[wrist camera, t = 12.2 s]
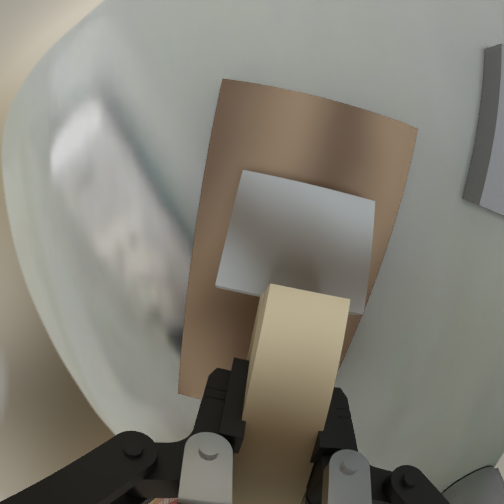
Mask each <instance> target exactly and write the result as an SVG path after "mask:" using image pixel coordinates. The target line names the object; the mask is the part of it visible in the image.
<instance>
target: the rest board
mask: <svg viewBox="0 0 504 504" xmlns="http://www.w3.org/2000/svg"><path fill="white" fill-rule="evenodd" d="M417 131H418V128H415V127H413V126H410V125H407V124H405V123H402V122H399V121H396V120H394V119H391V118H388V117H385V116H382V115H379V114H376V113H373V112H370V111H367V110H364V109H360V108H357V107H354V106H350V105H347V104H344V103H340V102H336V101H333V100H329V99H325V98H321V97H317V96H313V95H309V94H305V93H300V92H296V91H291V90H287V89H282V88H277V87H272V86H266V85H261V84H255V83H249V82H243V81H236V80H229V79H222V84H221V88H220V93H219V98H218V103H217V108H216V113H215V118H214V123H213V128H212V133H211V138H210V144H209V149H208V155H207V160H206V166H205V172H204V178H203V184H202V190H201V196H200V203H199V209H198V216H197V222H196V229H195V236H194V243H193V251H192V258H191V266H190V274H189V282H188V291H187V299H186V308H185V318H184V328H183V338H182V349H181V361H180V373H179V387H178V393H179V394H182V395H186V396H190V397H194V398H198V399H202V397H203V394H204V390H205V387H206V383H207V380H208V376H209V375H210V374H211V373H212V372H213V371H214V370H215V369H216V368H222V369H226V370H231V368H232V363H233V359H234V357H235V358H240V359H245V360H247V357H248V352H249V348H250V343H251V338H252V333H253V328H254V324H255V319H256V314H257V309H258V304H259V299H260V297H258V296H253V295H249V294H244V293H239V292H234V291H230V290H225V289H221V288H216V286H215V284H216V279H217V275H218V270H219V266H220V262H221V257H222V253H223V249H224V245H225V240H226V236H227V232H228V228H229V224H230V219H231V215H232V211H233V207H234V203H235V199H236V195H237V191H238V187H239V183H240V179H241V175H242V171H243V170H247V171H252V172H257V173H261V174H266V175H271V176H276V177H280V178H285V179H289V180H294V181H298V182H302V183H307V184H311V185H315V186H319V187H323V188H327V189H331V190H335V191H339V192H343V193H347V194H351V195H354V196H358V197H362V198H365V199H369V200H373V201H375V215H374V229H373V241H372V251H371V261H370V270H369V278H368V286H367V294H366V301H365V307H366V304H367V302H368V299H369V296H370V294H371V291H372V289H373V286H374V283H375V280H376V278H377V275H378V272H379V269H380V266H381V263H382V260H383V258H384V255H385V252H386V248H387V245H388V242H389V239H390V236H391V233H392V230H393V226H394V223H395V220H396V216H397V213H398V209H399V206H400V202H401V199H402V195H403V191H404V187H405V184H406V180H407V176H408V172H409V168H410V163H411V159H412V155H413V150H414V146H415V141H416V136H417ZM364 309H365V308H364ZM361 317H362V315H352V314H348V318H347V324H346V330H345V335H344V341H343V346H342V351H341V356H340V361H339V366H338V370H339V367H340V365H341V363H342V361H343V359H344V357H345V354H346V352H347V350H348V348H349V345H350V343H351V341H352V338H353V336H354V334H355V331H356V329H357V327H358V324H359V322H360V319H361ZM337 372H338V371H337Z"/></svg>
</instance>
